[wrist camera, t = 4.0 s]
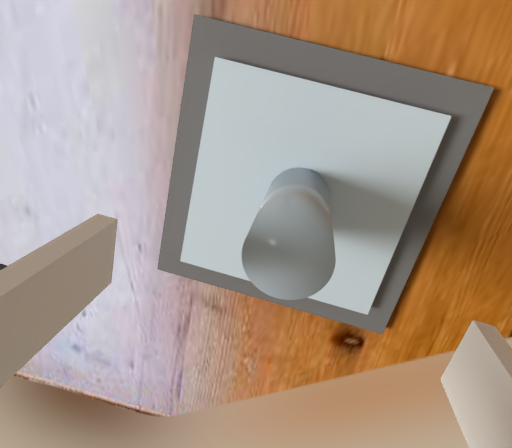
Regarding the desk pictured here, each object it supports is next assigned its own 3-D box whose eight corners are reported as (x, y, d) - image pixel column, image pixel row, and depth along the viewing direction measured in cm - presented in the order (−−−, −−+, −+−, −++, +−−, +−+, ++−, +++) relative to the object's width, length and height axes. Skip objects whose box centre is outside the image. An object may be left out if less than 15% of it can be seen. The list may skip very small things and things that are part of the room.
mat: (162, 263, 30) (157, 269, 29) (199, 17, 23) (194, 14, 22) (380, 326, 29) (382, 334, 28) (487, 87, 22) (494, 87, 21)
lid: (185, 254, 28) (119, 340, 19) (219, 57, 23) (151, 42, 14) (365, 305, 27) (389, 422, 18) (445, 114, 22) (538, 139, 13)
